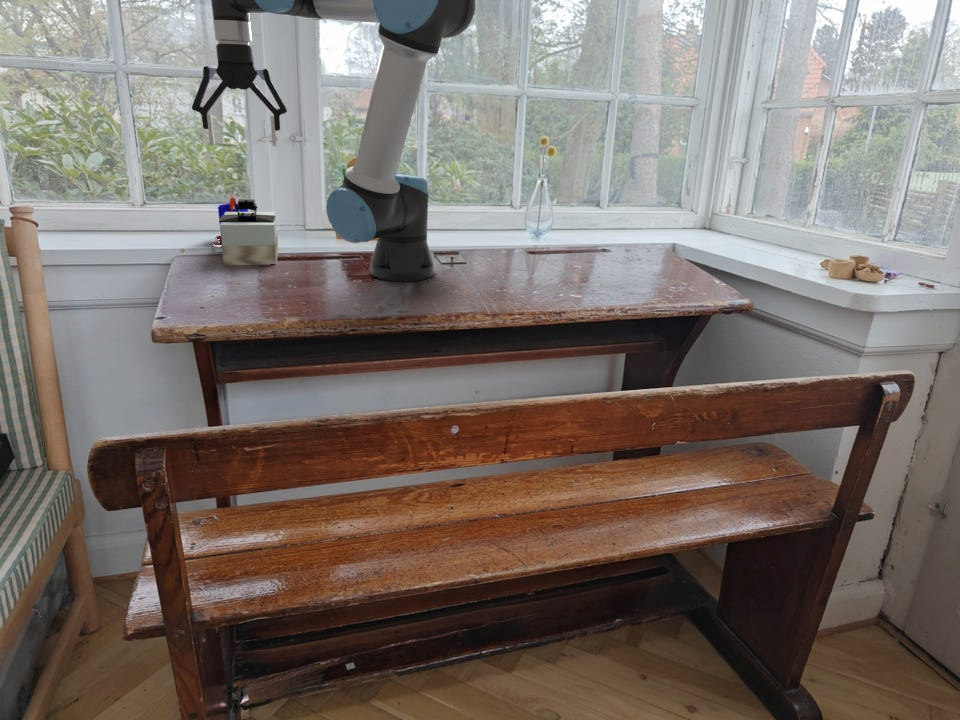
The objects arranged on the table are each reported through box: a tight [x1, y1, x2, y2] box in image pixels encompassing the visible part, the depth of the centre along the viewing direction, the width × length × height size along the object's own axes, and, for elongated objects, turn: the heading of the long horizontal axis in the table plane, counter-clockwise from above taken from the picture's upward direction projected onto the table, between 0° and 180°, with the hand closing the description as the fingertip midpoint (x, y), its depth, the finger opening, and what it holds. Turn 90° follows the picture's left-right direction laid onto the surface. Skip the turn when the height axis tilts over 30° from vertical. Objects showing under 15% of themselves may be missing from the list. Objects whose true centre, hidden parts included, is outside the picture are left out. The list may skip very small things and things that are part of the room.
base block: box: [221, 231, 279, 266], centre depth 164 cm, size 12×15×5 cm
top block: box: [219, 211, 277, 246], centre depth 162 cm, size 12×15×5 cm
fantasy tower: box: [213, 196, 249, 245], centre depth 175 cm, size 12×12×12 cm
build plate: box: [218, 198, 276, 223], centre depth 159 cm, size 12×7×5 cm, turn 102°
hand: (244, 145), depth 152 cm, fingers open, 13 cm apart
